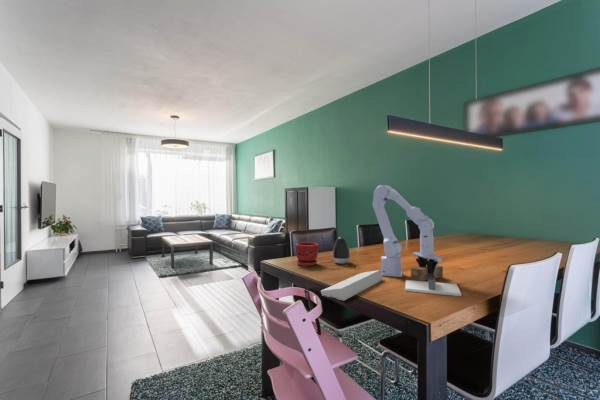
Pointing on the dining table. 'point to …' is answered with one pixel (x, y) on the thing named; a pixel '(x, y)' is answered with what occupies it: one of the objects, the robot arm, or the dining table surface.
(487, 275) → the dining table surface
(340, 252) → the dark grey rounded shape
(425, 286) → the grey board
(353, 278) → the decorative molding
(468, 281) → the dining table surface
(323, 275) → the dining table surface
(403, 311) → the dining table surface
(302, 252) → the plant pot
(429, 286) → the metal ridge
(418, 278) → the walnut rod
